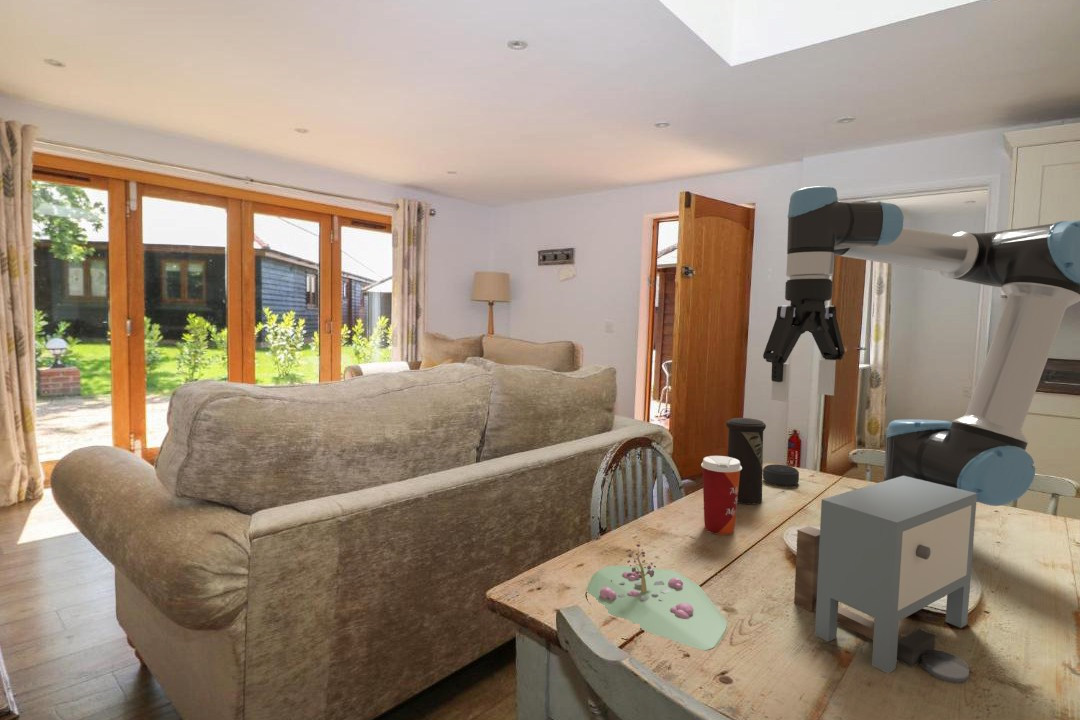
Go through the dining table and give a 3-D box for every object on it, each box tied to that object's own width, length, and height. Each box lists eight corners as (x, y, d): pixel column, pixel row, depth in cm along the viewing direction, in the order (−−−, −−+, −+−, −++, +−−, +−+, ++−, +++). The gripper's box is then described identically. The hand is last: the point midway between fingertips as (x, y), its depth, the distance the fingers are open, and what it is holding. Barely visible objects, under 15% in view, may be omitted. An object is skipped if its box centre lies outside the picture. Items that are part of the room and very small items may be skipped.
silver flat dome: (933, 656, 76) (934, 645, 76) (976, 677, 72) (977, 666, 72) (913, 667, 74) (913, 657, 74) (956, 690, 69) (957, 678, 69)
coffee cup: (742, 538, 114) (745, 466, 113) (700, 535, 116) (702, 464, 115) (736, 523, 123) (739, 455, 121) (697, 520, 124) (699, 453, 123)
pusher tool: (788, 605, 89) (791, 531, 88) (811, 595, 92) (814, 524, 91) (911, 667, 73) (917, 579, 72) (934, 652, 76) (940, 568, 75)
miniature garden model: (767, 619, 86) (769, 562, 85) (680, 672, 73) (682, 606, 72) (644, 560, 105) (645, 514, 105) (559, 594, 93) (559, 542, 92)
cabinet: (895, 594, 92) (903, 475, 90) (975, 627, 83) (985, 495, 81) (814, 634, 81) (821, 499, 79) (896, 678, 71) (905, 525, 69)
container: (758, 507, 132) (762, 424, 130) (720, 500, 137) (722, 419, 135) (765, 497, 139) (769, 418, 138) (728, 491, 144) (731, 414, 142)
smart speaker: (764, 486, 149) (765, 471, 148) (761, 476, 157) (761, 462, 157) (801, 489, 146) (801, 474, 146) (795, 479, 155) (796, 465, 155)
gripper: (830, 281, 109) (824, 389, 111) (744, 277, 96) (739, 400, 98) (869, 279, 102) (863, 394, 104) (783, 275, 90) (777, 406, 92)
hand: (803, 397), depth 101 cm, fingers open, 13 cm apart
